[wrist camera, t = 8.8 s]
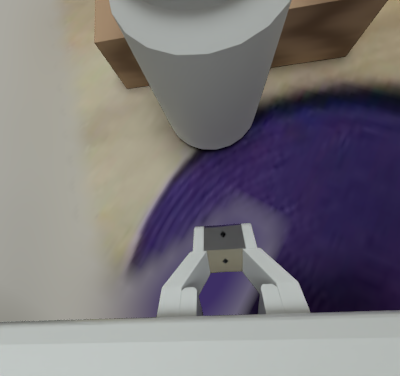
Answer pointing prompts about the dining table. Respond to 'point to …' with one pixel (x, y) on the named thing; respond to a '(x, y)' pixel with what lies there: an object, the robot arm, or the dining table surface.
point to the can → (204, 60)
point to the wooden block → (288, 43)
